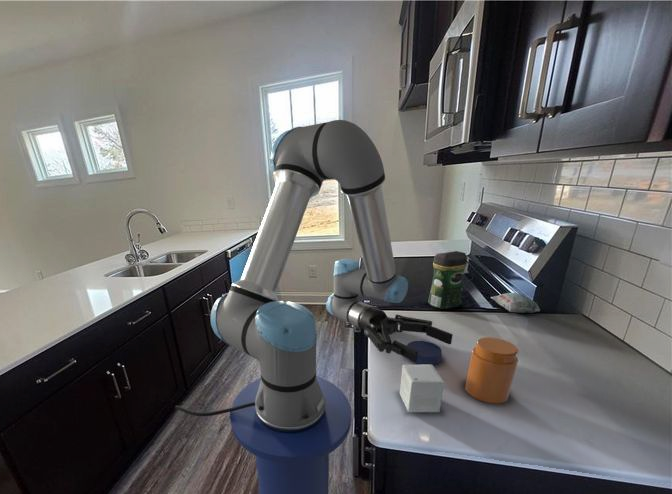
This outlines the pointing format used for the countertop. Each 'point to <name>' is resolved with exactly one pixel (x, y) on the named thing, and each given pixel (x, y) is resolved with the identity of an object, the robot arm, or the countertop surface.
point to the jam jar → (491, 370)
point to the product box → (421, 388)
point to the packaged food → (516, 303)
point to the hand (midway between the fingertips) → (434, 347)
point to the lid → (426, 352)
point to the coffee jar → (447, 279)
